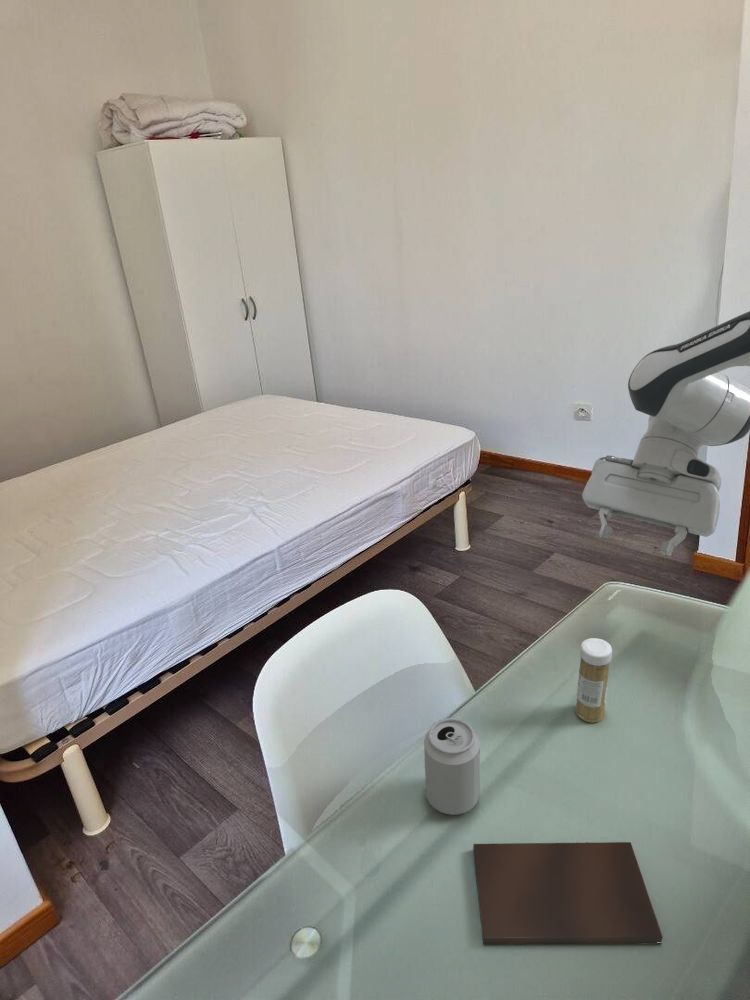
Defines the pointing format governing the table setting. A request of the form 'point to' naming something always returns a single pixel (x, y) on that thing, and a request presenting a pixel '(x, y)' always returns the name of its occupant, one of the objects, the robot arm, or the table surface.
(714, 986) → the table surface
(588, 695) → the spice jar
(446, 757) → the can
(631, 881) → the walnut board
